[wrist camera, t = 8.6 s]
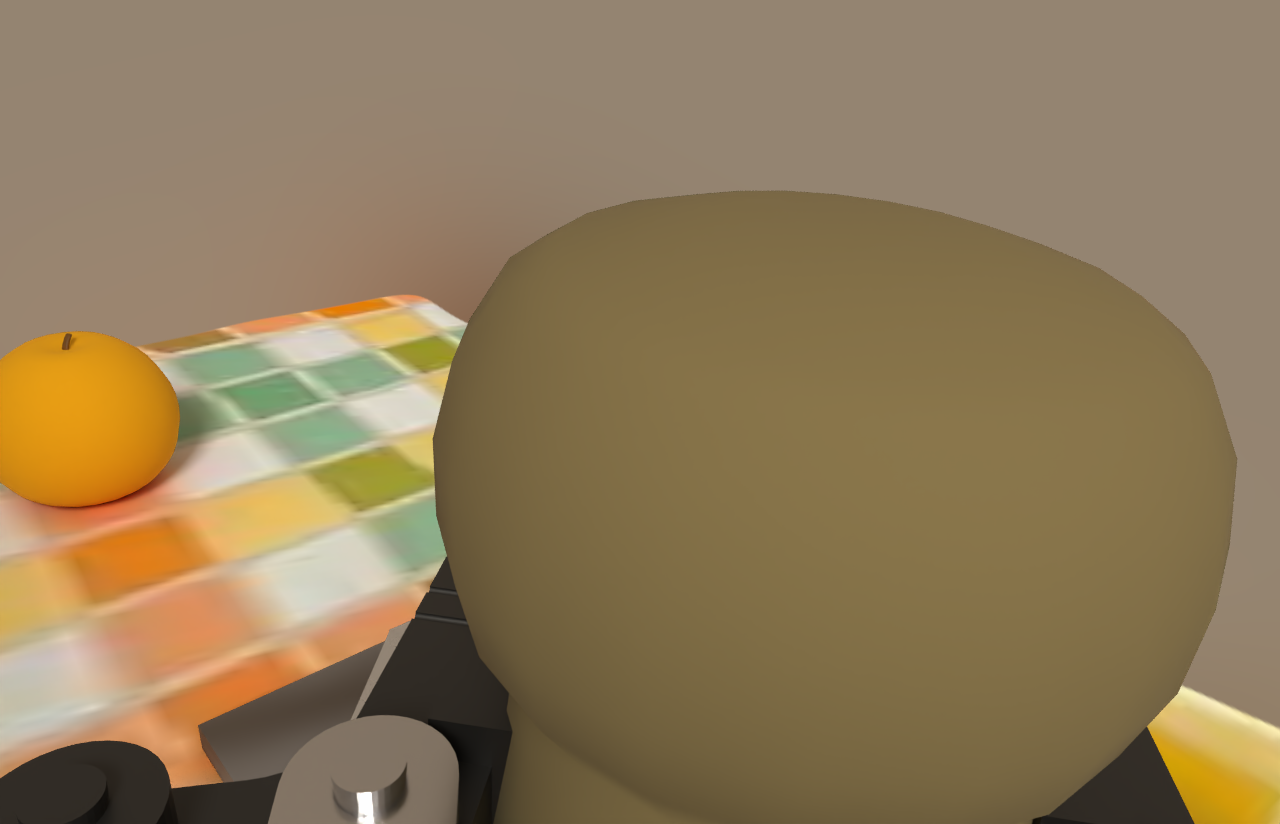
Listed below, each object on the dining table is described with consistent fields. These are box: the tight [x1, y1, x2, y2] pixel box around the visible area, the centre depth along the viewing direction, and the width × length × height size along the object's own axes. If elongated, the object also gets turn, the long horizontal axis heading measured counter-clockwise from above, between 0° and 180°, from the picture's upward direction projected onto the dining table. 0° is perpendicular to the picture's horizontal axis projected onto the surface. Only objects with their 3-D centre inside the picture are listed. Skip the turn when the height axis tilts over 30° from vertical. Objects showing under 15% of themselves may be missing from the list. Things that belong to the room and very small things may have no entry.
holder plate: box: [198, 641, 385, 783], centre depth 30 cm, size 16×16×1 cm
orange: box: [0, 331, 180, 507], centre depth 42 cm, size 8×8×8 cm
